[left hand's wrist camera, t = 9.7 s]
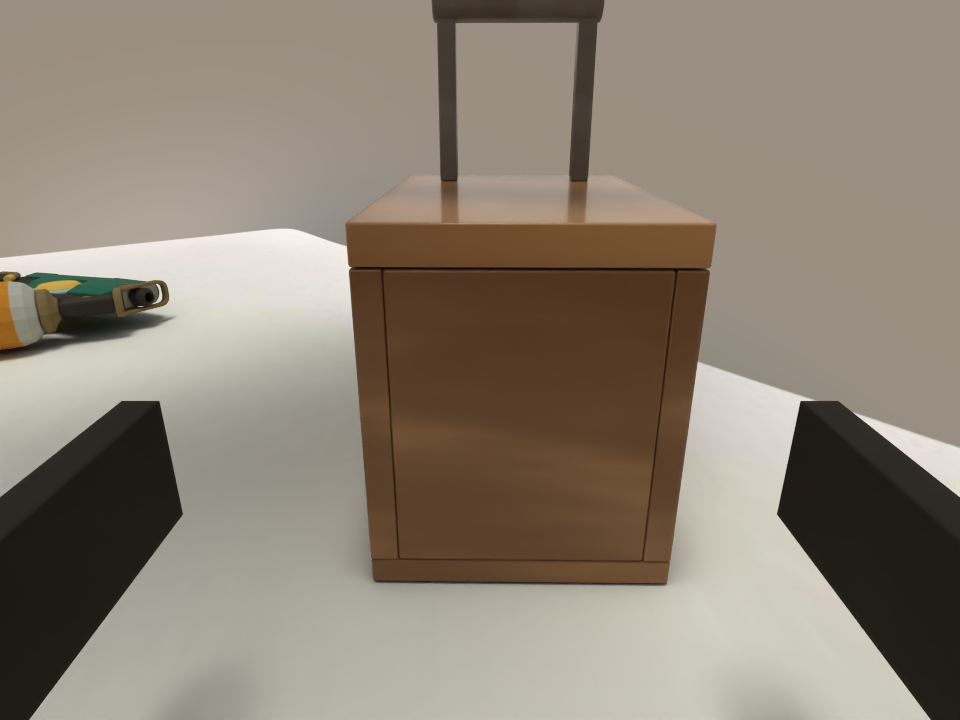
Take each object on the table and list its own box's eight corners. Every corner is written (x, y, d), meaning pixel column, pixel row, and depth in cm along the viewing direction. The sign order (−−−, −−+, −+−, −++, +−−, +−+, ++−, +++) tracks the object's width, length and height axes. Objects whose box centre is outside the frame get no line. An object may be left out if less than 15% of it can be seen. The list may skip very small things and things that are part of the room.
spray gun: (-139, 335, 43) (95, 297, 54) (-90, 381, 33) (186, 324, 44) (-159, 274, 42) (84, 249, 53) (-115, 303, 32) (175, 264, 43)
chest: (417, 404, 32) (409, 204, 28) (599, 405, 32) (614, 204, 28) (372, 582, 20) (348, 269, 16) (667, 584, 20) (711, 270, 16)
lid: (411, 200, 29) (403, -8, 26) (611, 200, 29) (627, -9, 26) (348, 267, 16) (316, -135, 13) (711, 268, 16) (767, -137, 13)
